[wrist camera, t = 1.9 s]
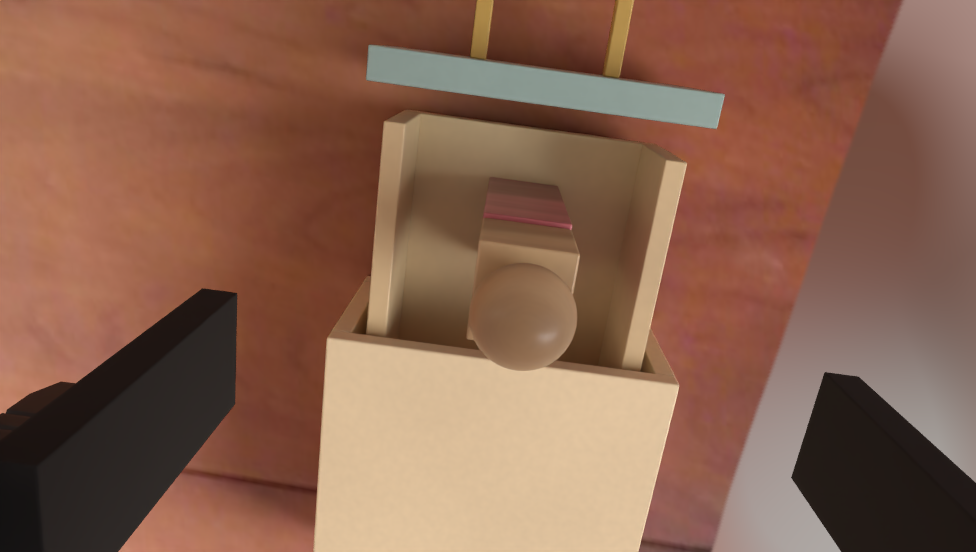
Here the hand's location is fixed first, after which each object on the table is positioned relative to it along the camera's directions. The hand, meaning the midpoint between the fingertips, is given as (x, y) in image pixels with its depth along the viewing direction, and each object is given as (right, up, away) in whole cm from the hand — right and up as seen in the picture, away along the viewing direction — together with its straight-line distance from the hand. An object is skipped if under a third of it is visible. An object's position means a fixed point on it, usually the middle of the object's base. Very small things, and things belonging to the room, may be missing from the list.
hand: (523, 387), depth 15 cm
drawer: (+1, +7, +15) cm, 17 cm away
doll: (+1, +5, +15) cm, 15 cm away
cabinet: (-1, -6, +20) cm, 21 cm away
